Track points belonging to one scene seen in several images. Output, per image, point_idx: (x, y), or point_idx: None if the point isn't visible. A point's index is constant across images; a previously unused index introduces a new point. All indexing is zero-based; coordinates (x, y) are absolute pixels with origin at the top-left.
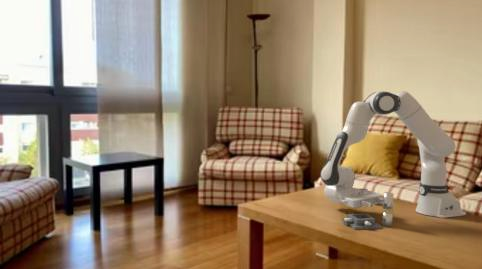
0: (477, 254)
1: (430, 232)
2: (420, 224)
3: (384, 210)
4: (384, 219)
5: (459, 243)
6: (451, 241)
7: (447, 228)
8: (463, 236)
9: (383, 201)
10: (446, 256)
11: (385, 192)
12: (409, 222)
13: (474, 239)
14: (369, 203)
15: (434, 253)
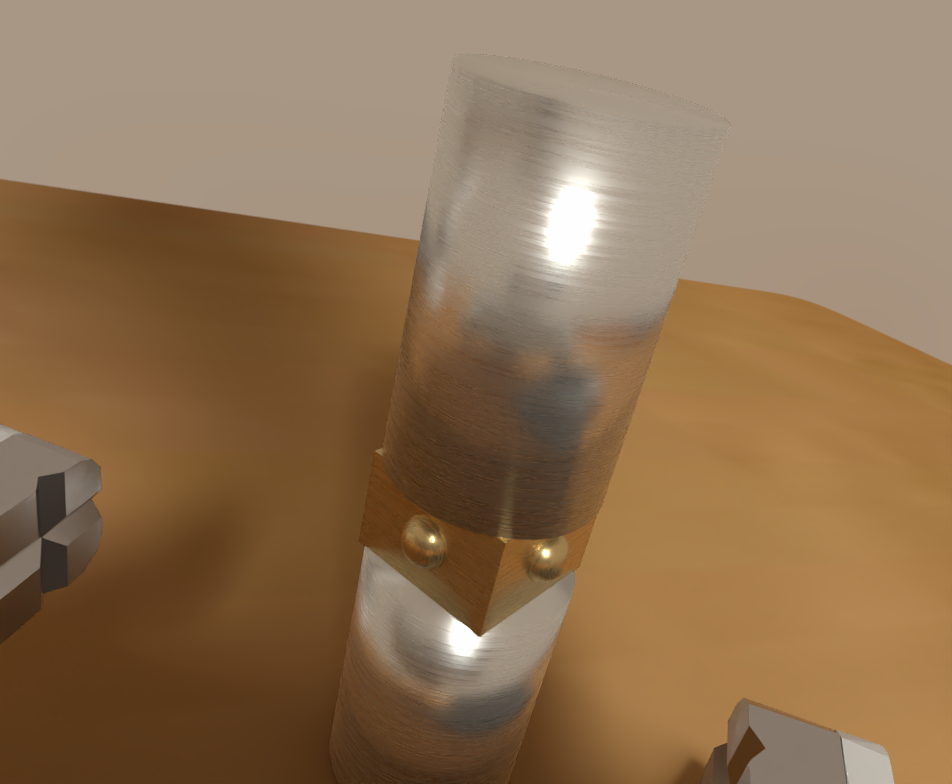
0: None
1: None
2: (118, 416)
3: (569, 554)
4: (536, 697)
5: None
6: None
7: (166, 287)
8: (349, 261)
9: (602, 384)
10: (852, 360)
11: (542, 95)
12: None
13: (377, 240)
14: (887, 782)
15: (879, 394)
